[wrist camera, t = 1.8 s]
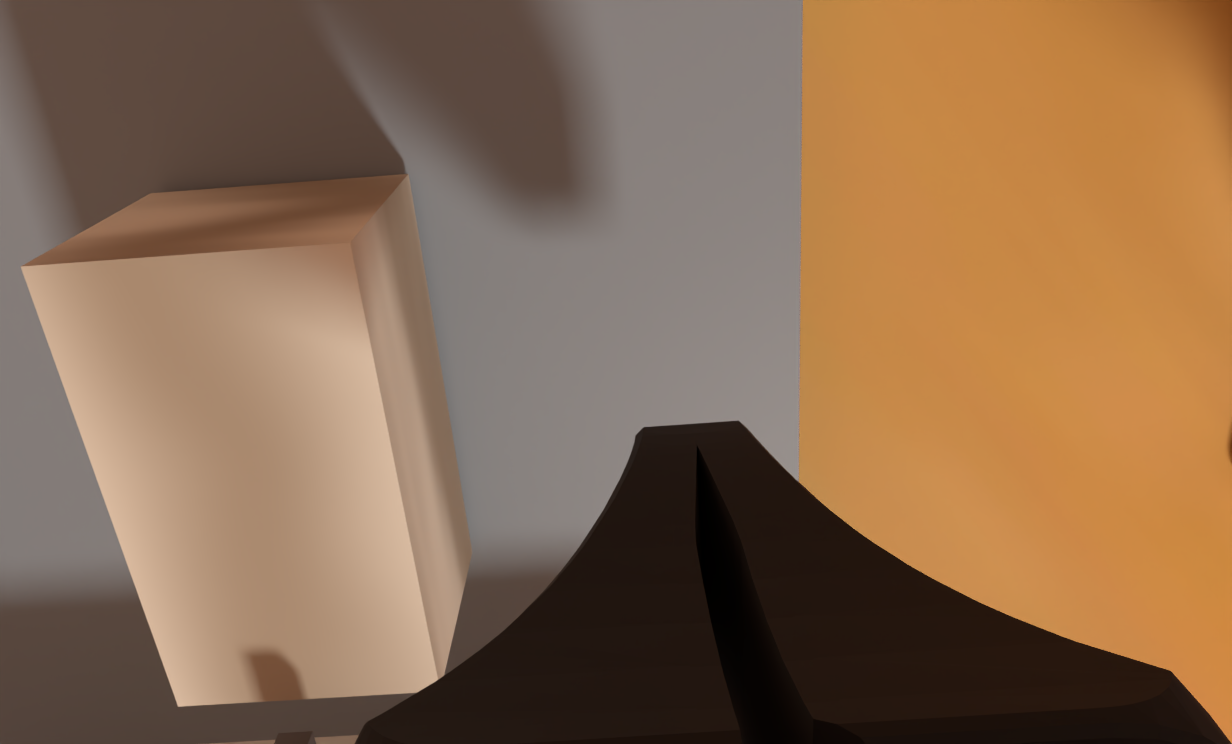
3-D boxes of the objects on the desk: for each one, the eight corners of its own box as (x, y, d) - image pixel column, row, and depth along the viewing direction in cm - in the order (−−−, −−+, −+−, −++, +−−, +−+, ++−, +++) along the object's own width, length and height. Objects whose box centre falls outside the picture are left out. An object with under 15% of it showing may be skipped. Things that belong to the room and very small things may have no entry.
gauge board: (791, -367, 13) (928, -595, 7) (788, 744, 21) (848, 1028, 16) (-751, -226, 13) (-1707, -335, 8) (-153, 796, 22) (-412, 1087, 16)
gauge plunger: (408, 173, 14) (323, 274, 10) (499, 712, 19) (466, 934, 15) (150, 193, 14) (-41, 300, 10) (303, 723, 19) (214, 947, 15)
